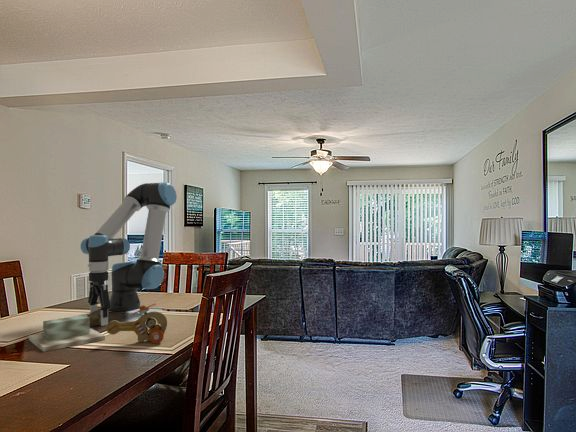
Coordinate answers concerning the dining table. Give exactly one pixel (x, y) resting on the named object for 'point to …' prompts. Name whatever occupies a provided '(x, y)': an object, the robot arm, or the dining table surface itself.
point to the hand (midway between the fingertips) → (99, 322)
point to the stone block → (96, 318)
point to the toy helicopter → (142, 325)
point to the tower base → (65, 341)
